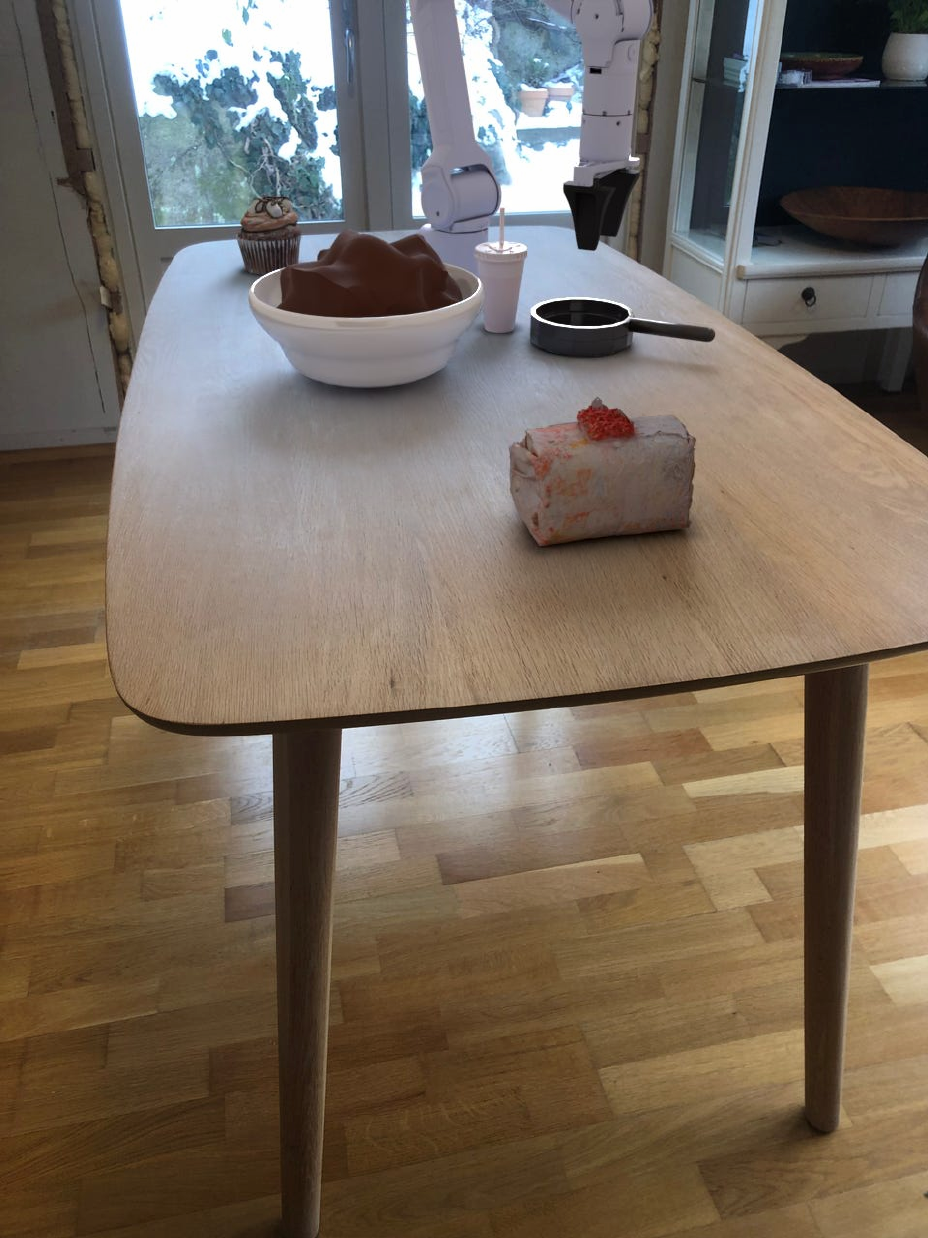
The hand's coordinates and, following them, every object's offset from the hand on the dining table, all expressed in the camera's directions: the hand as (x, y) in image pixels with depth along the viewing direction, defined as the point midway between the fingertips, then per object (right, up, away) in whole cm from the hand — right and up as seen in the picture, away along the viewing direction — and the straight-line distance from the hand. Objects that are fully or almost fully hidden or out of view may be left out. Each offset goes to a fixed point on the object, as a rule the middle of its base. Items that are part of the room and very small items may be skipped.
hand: (597, 242), depth 113 cm
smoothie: (-11, -8, +6) cm, 16 cm away
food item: (-5, -37, -36) cm, 52 cm away
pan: (-2, -11, +2) cm, 11 cm away
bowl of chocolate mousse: (-26, -17, -7) cm, 32 cm away
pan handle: (+8, -12, -3) cm, 15 cm away
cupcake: (-45, +8, +31) cm, 55 cm away
